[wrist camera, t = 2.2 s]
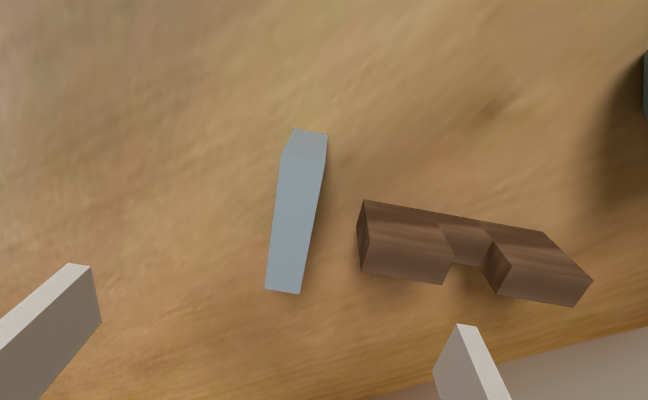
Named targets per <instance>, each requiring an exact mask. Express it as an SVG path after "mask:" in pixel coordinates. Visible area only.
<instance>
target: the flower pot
mask: <svg viewBox="0 0 648 400" xmlns="http://www.w3.org/2000/svg"><path fill="white" fill-rule="evenodd" d="M643 112H644V115H645V118H646V120H647V123H648V50H647V51H646V53H645V55H644V73H643Z"/></svg>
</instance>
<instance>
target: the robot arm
mask: <svg viewBox="0 0 648 400" xmlns="http://www.w3.org/2000/svg"><path fill="white" fill-rule="evenodd" d="M101 323H102V319H101V314H100V309H99V304H98V300H97V295H96V290H95V285H94V280H93V275H92V271H91V266H85V265H78V264H72V263H67V264H66V265H65V266H64V267H63V268H61V269H60V270H59V271H58V272H57V273H55V274H54V275H53V276H52V277H51V278H49V279H48V280H47V281H46V282H45V283H43V284H42V285H41V286H40V287H39V288H37V289H36V290H35V291H34V292H33V293H31V294H30V295H29V296H28V297H27V298H25V299H24V300H23V301H22V302H21V303H20V304H18V305H17V306H16V307H15V308H14V309H12V310H11V311H10V312H9V313H8V314H6V315H5V316H4V317H3V318H2V319H0V400H38V399H39V398H40V397H41V396H42V394H43V393H44V392H45V391H46V390H47V388H48V387H49V386H50V385H51V384H52V382H53V381H54V380H55V379H56V378H57V376H58V375H59V374H60V373H61V371H62V370H63V369H64V368H65V367H66V365H67V364H68V363H69V362H70V361H71V359H72V358H73V357H74V356H75V355H76V353H77V352H78V351H79V350H80V348H81V347H82V346H83V345H84V344H85V342H86V341H87V340H88V339H89V338H90V336H91V335H92V334H93V333H94V332H95V330H96V329H97V328H98V327H99V325H100V324H101ZM432 374H433V377H434V381H435V384H436V387H437V391H438V394H439V398H440V400H512V399H511V397H510V395H509V393H508V391H507V389H506V387H505V384H504V382H503V380H502V378H501V376H500V374H499V372H498V370H497V368H496V366H495V364H494V362H493V360H492V358H491V356H490V354H489V351H488V349H487V347H486V345H485V343H484V341H483V339H482V337H481V335H480V333H479V331H478V329H477V327H476V326H469V325H463V324H457V323H456V325H455V327H454V329H453V331H452V333H451V335H450V337H449V339H448V341H447V342H446V344H445V346H444V348H443V350H442V352H441V354H440V356H439V358H438V360H437V362H436V364H435V366H434V368H433V370H432Z"/></svg>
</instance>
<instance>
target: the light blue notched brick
mask: <svg viewBox="0 0 648 400" xmlns="http://www.w3.org/2000/svg"><path fill="white" fill-rule="evenodd" d="M327 141H328V135H326V134H321V133H316V132H310V131H305V130H300V129H295V128H294V129H293V132H292V134H291V136H290V138H289V140H288V142H287V144H286V146H285V148H284V150H283V152H282V154H281V161H280V169H279V177H278V184H277V192H276V200H275V208H274V216H273V224H272V232H271V239H270V247H269V255H268V263H267V271H266V279H265V287H264V289H270V290H276V291H282V292H288V293H294V294H300V289H301V284H302V279H303V274H304V269H305V264H306V259H307V253H308V248H309V243H310V238H311V233H312V228H313V223H314V218H315V213H316V208H317V203H318V197H319V192H320V187H321V182H322V177H323V172H324V167H325V161H326V151H327Z"/></svg>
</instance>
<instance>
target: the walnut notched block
mask: <svg viewBox="0 0 648 400" xmlns="http://www.w3.org/2000/svg"><path fill="white" fill-rule="evenodd" d="M357 236H358V246H359V256H360V266H361V272H367V273H373V274H378V275H384V276H390V277H396V278H402V279H408V280H414V281H419V282H425V283H431V284H437V285H442V284H443V281H444V279H445V277H446V275H447V273H448V271H449V269H450V266H451V264H452V262H453V263H458V264H464V265H470V266H475V267H479V268H480V270H481V271H482V273H483V274H484V276H485V278H486V279H487V281H488V283H489V284H490V286H491V287H492V289H493V291H494V292H495V294H496V295H501V296H507V297H513V298H519V299H525V300H531V301H537V302H542V303H548V304H554V305H560V306H566V307H572V308H573V307H574V306H575V305H576V303H577V302H578V301H579V299H580V298H581V297H582V295H583V294H584V293H585V291H586V290H587V289H588V287H589V286H590V285H591V283H592V282H593V281H594V280H593V279H592V278H591V277H590V276H589V275H587V274H586V273H585V272H584V271H583V270H582V269H581V268H580V267H579V266H578V265H577V264H576V263H575V262H574V261H573V260H572V259H571V258H570V257H568V256H567V255H566V254H565V253H564V252H563V251H562V250H561V249H560V248H559V247H558V246H557V245H556V244H555V243H554V242H553V241H552V240H551V239H549V238H548V237H547V236H546V235H545V234H544V233H543V232H540V231H535V230H529V229H524V228H518V227H513V226H507V225H502V224H496V223H491V222H485V221H480V220H474V219H469V218H463V217H458V216H452V215H447V214H441V213H436V212H430V211H425V210H419V209H414V208H408V207H403V206H397V205H392V204H386V203H381V202H375V201H370V200H363V203H362V207H361V211H360V215H359V218H358V222H357Z"/></svg>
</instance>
